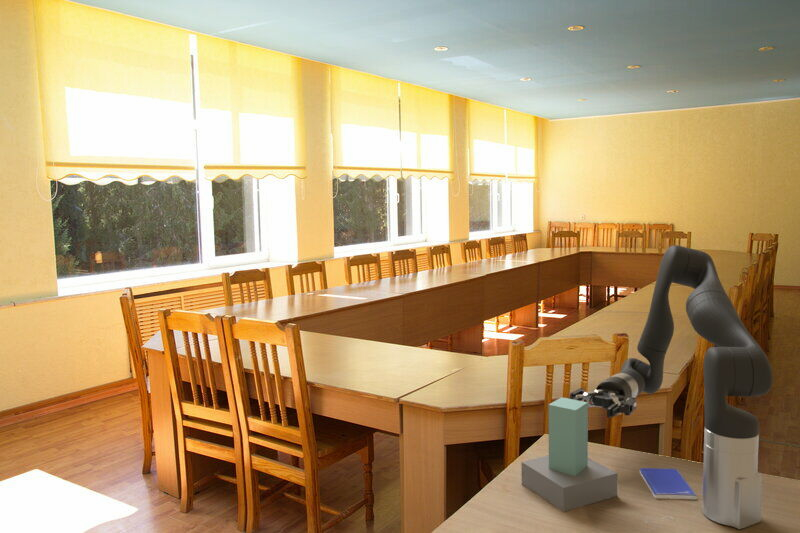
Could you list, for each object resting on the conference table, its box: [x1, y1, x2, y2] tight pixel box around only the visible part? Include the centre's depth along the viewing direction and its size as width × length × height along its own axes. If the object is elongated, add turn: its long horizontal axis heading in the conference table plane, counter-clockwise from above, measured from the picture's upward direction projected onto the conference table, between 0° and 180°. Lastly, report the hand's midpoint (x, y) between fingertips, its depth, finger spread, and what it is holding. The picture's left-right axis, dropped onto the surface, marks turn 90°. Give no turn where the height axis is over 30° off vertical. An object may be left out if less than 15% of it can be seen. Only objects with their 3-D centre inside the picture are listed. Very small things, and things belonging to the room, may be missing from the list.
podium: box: [521, 454, 618, 513], centre depth 135 cm, size 14×14×5 cm
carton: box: [548, 396, 589, 476], centre depth 134 cm, size 6×6×14 cm
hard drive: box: [639, 467, 697, 500], centre depth 136 cm, size 2×8×12 cm
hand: (589, 409), depth 142 cm, fingers open, 8 cm apart
